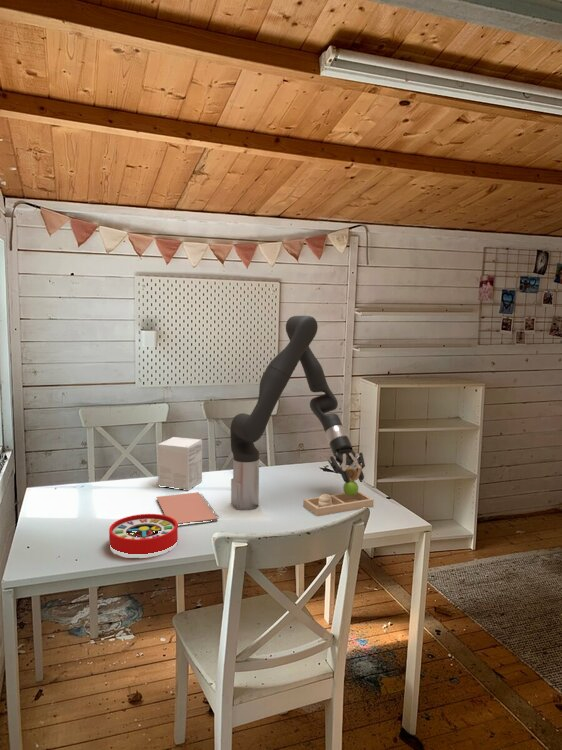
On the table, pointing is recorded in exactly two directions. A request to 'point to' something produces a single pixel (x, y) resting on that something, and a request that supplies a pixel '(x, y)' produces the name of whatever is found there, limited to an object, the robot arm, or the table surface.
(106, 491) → the table surface
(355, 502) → the divided tray
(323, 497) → the beige domed knob
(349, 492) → the snail figurine
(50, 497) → the table surface
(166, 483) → the supplement box
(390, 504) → the table surface
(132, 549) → the toy clock
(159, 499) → the notebook
